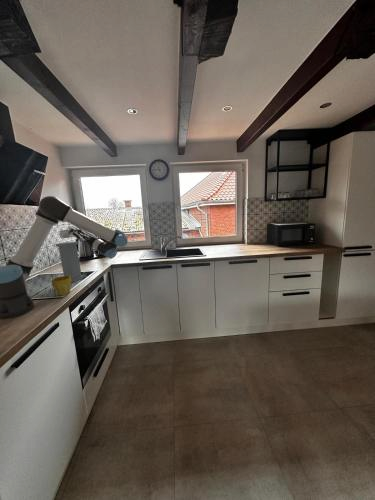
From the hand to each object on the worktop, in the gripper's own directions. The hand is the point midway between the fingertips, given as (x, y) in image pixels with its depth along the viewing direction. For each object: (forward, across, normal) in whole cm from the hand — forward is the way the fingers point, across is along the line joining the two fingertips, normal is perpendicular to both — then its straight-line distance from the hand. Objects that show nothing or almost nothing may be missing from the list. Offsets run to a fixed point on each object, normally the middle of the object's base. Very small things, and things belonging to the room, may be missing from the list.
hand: (70, 226), depth 140 cm
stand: (-15, 0, -37) cm, 40 cm away
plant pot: (-29, -22, -29) cm, 46 cm away
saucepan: (-4, 0, -6) cm, 7 cm away
